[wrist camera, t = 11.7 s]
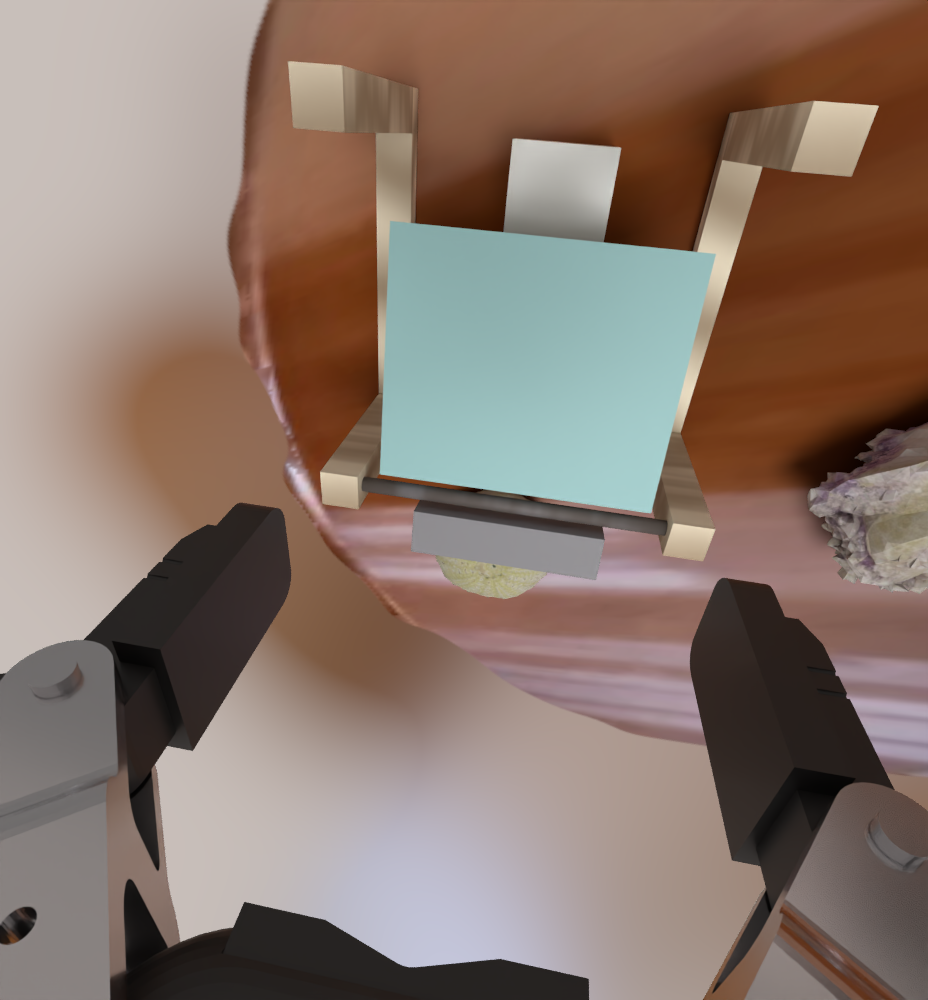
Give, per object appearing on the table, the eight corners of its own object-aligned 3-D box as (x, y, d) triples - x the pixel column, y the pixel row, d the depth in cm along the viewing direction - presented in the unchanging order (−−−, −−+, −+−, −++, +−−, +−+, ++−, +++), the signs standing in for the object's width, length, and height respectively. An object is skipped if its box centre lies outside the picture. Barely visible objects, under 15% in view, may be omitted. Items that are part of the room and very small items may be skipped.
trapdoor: (630, 571, 31) (634, 586, 30) (383, 532, 33) (375, 545, 31) (708, 254, 25) (717, 253, 24) (397, 222, 26) (388, 220, 25)
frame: (381, 85, 30) (287, 61, 20) (771, 116, 28) (878, 105, 18) (383, 413, 41) (322, 503, 31) (669, 451, 39) (703, 561, 29)
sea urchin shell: (412, 496, 42) (478, 540, 36) (496, 457, 45) (568, 492, 40) (432, 591, 47) (492, 644, 41) (506, 549, 50) (572, 592, 44)
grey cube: (510, 239, 33) (520, 138, 31) (595, 247, 33) (614, 146, 30) (501, 253, 29) (512, 138, 27) (599, 263, 29) (621, 147, 26)
